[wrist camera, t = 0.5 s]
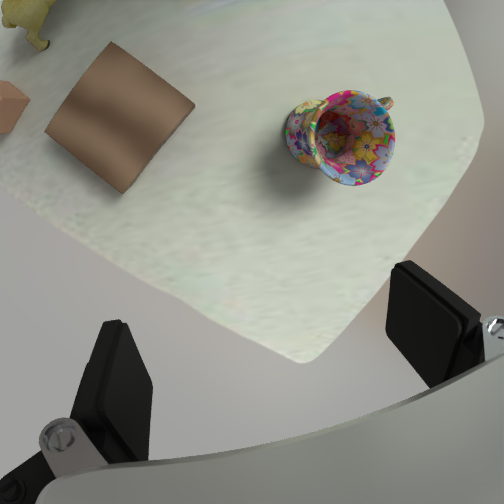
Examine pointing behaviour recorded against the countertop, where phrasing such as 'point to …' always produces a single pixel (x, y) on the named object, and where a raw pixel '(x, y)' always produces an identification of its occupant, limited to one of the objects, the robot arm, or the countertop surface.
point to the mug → (343, 136)
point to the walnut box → (118, 117)
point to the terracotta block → (10, 106)
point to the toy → (27, 18)
